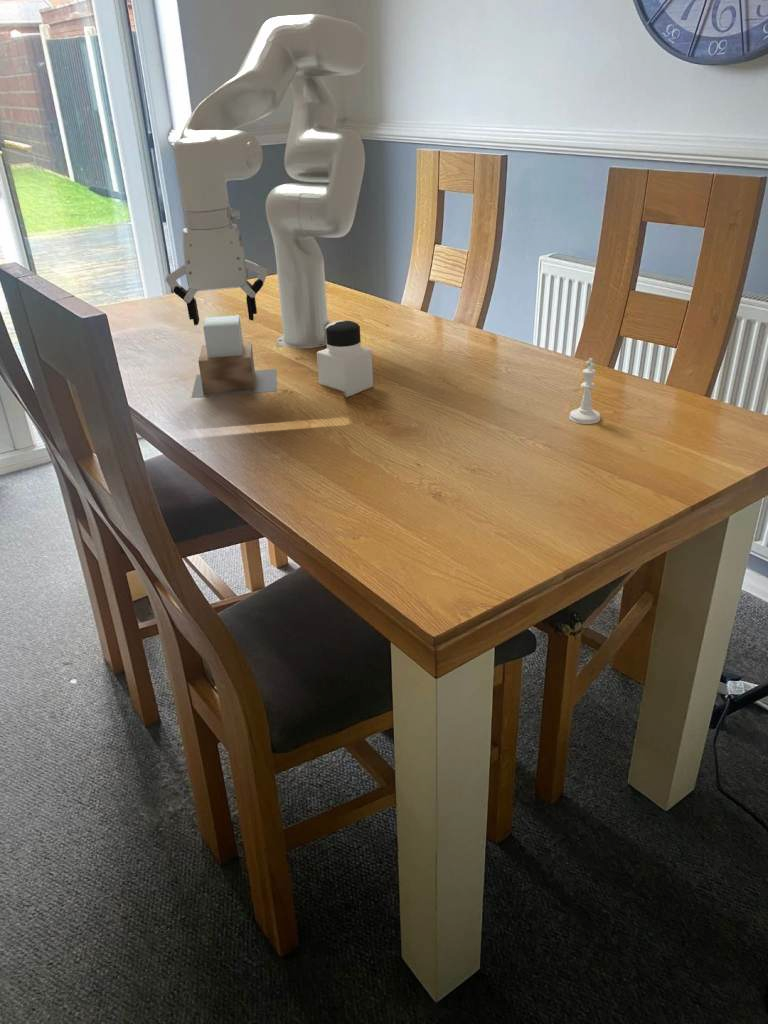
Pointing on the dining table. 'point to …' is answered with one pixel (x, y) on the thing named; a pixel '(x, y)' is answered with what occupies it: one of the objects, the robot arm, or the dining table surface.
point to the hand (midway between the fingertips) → (224, 320)
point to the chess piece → (586, 399)
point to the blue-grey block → (223, 336)
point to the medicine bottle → (345, 359)
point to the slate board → (263, 383)
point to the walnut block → (227, 371)
